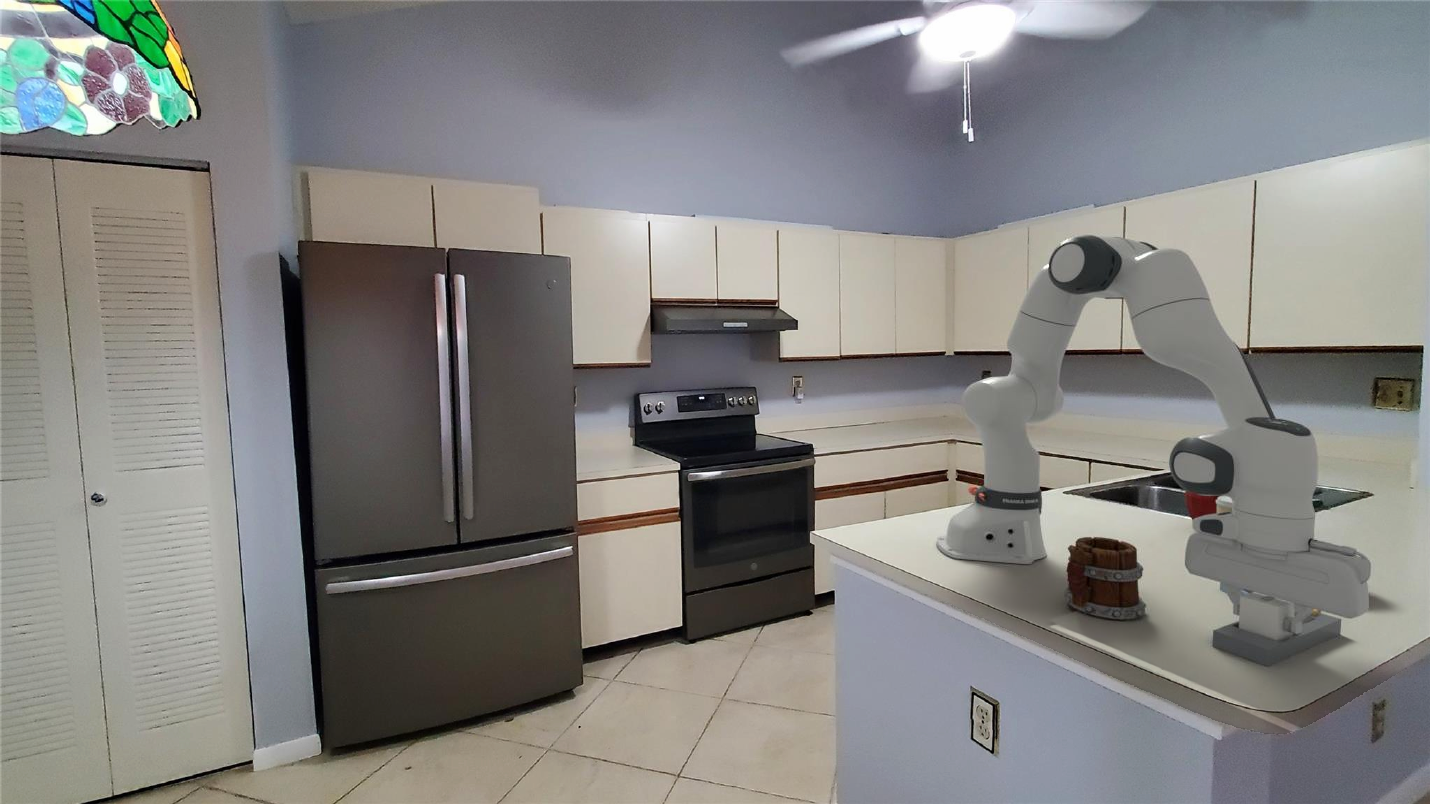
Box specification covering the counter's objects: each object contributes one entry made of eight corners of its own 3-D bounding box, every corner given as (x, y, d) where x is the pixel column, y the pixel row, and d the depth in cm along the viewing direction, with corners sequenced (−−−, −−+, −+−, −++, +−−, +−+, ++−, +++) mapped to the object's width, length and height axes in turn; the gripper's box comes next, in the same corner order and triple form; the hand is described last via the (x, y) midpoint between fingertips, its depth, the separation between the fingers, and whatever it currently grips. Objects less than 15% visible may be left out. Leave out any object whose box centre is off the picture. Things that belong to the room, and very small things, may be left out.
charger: (1276, 655, 86) (1278, 606, 85) (1238, 642, 90) (1240, 595, 89) (1292, 648, 88) (1295, 601, 87) (1254, 635, 92) (1256, 590, 91)
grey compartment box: (1267, 672, 83) (1268, 645, 83) (1212, 651, 89) (1213, 626, 89) (1352, 633, 93) (1354, 610, 93) (1298, 617, 99) (1299, 595, 99)
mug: (1165, 615, 101) (1159, 530, 98) (1113, 649, 95) (1106, 560, 92) (1094, 591, 111) (1088, 514, 109) (1044, 620, 105) (1036, 539, 103)
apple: (1250, 541, 138) (1253, 484, 137) (1186, 534, 144) (1188, 479, 143) (1241, 528, 148) (1244, 474, 147) (1181, 522, 154) (1183, 470, 153)
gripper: (1382, 547, 79) (1375, 649, 81) (1203, 512, 98) (1199, 595, 99) (1360, 555, 77) (1353, 660, 78) (1180, 517, 95) (1177, 602, 96)
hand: (1266, 623), depth 89 cm, fingers closed on charger, 4 cm apart
